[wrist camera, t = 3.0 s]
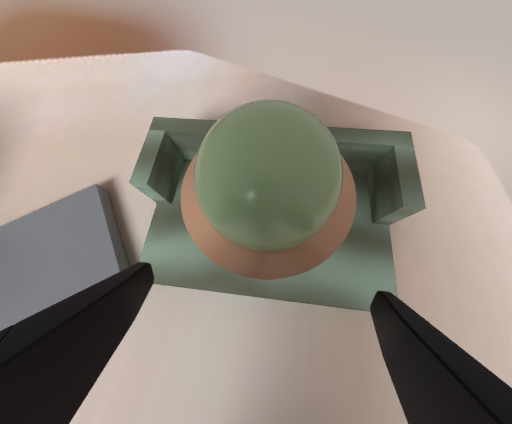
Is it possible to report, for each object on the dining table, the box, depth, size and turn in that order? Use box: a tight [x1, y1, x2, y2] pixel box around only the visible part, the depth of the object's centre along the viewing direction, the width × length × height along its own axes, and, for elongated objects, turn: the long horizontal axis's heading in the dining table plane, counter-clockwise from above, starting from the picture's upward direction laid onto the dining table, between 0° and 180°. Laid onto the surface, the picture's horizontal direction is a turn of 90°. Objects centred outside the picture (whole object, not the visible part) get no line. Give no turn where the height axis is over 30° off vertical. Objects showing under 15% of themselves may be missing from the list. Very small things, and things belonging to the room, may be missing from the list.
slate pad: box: [0, 184, 129, 331], centre depth 17 cm, size 13×13×2 cm
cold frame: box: [129, 117, 426, 312], centre depth 16 cm, size 13×21×6 cm, turn 83°
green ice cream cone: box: [181, 100, 356, 280], centre depth 10 cm, size 6×6×13 cm
